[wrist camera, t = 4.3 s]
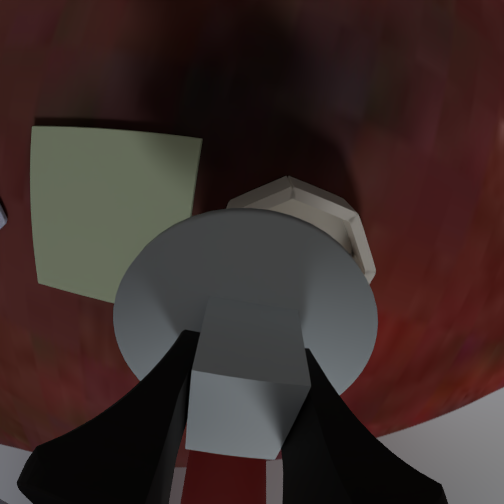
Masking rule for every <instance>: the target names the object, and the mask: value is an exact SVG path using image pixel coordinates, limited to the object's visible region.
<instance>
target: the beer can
mask: <svg viewBox="0 0 504 504" xmlns="http://www.w3.org/2000/svg"><path fill="white" fill-rule="evenodd" d="M181 504H266V459H259V458H248V457H239V456H230V455H222V454H215V453H208V452H202V451H196V450H190V452H189V457H188V463H187V469H186V475H185V481H184V486H183V492H182V498H181Z"/></svg>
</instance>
